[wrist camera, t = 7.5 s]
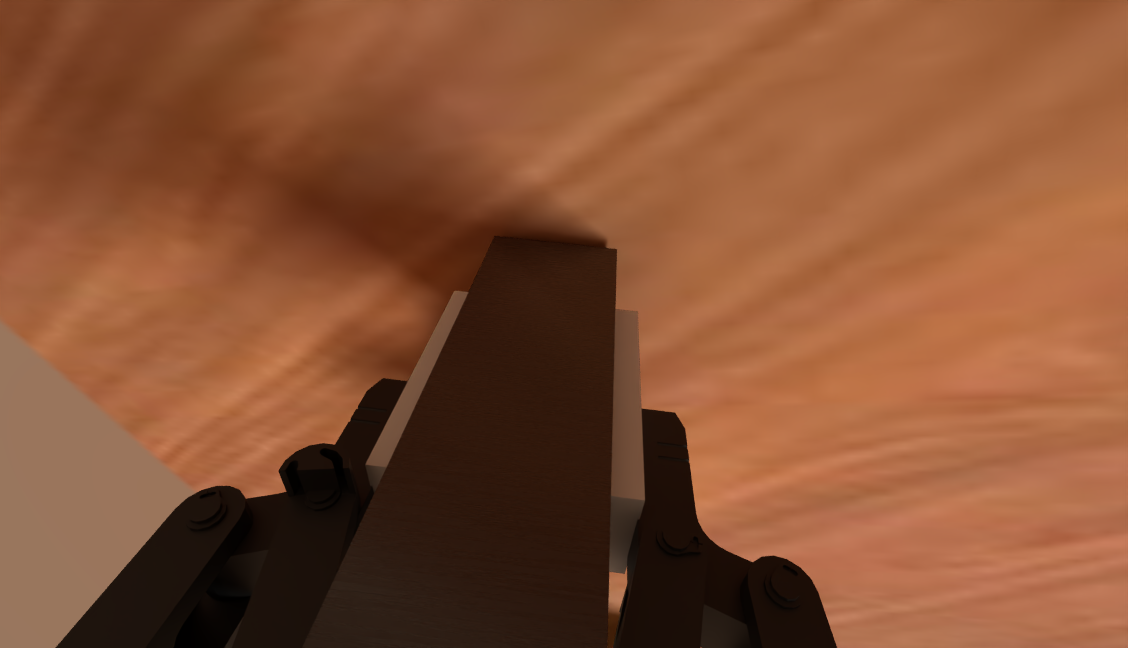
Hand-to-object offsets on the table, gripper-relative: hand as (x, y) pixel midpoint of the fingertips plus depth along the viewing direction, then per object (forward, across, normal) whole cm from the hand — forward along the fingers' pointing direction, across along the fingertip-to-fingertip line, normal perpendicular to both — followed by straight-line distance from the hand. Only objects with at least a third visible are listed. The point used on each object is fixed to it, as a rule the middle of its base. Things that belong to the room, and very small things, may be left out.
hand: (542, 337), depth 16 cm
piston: (+2, 0, -9) cm, 10 cm away
